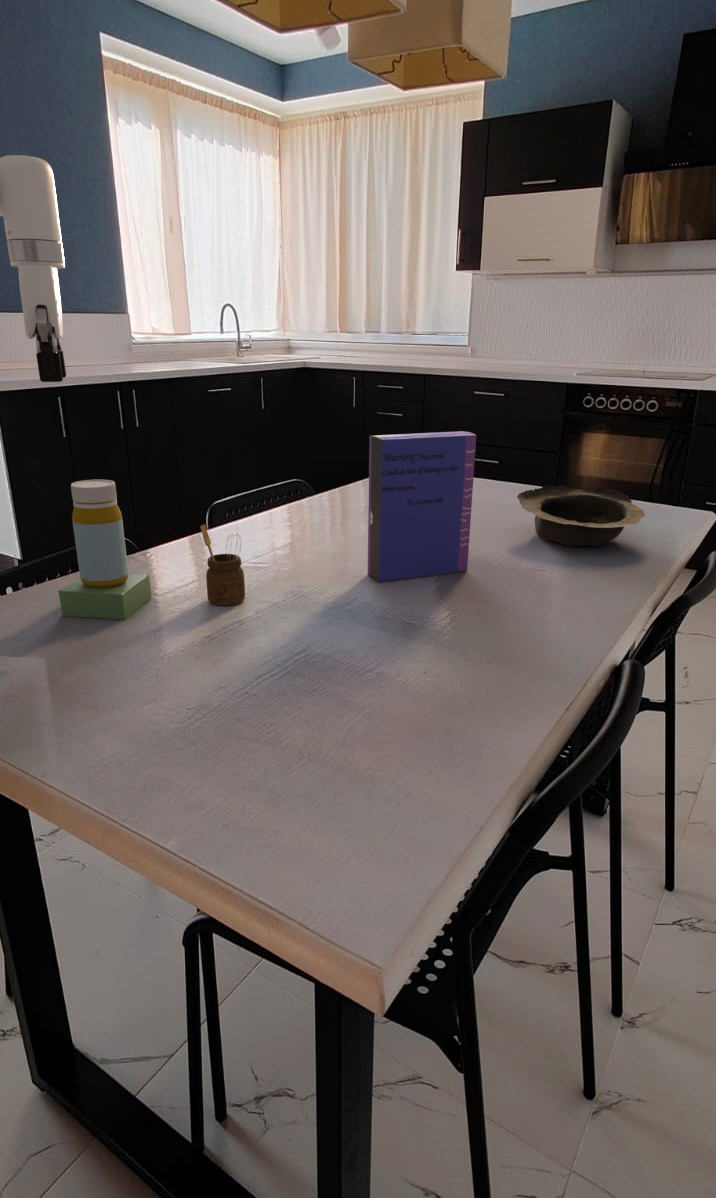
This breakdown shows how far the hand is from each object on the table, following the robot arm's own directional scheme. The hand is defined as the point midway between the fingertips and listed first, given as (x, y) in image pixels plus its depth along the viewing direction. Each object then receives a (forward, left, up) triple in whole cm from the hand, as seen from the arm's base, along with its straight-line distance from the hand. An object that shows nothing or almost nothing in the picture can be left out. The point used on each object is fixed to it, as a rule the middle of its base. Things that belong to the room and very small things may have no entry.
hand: (53, 379), depth 120 cm
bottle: (+11, -13, -28) cm, 33 cm away
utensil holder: (+28, -7, -32) cm, 43 cm away
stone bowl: (+88, +43, -32) cm, 103 cm away
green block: (+11, -13, -32) cm, 37 cm away
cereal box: (+57, +13, -32) cm, 67 cm away
